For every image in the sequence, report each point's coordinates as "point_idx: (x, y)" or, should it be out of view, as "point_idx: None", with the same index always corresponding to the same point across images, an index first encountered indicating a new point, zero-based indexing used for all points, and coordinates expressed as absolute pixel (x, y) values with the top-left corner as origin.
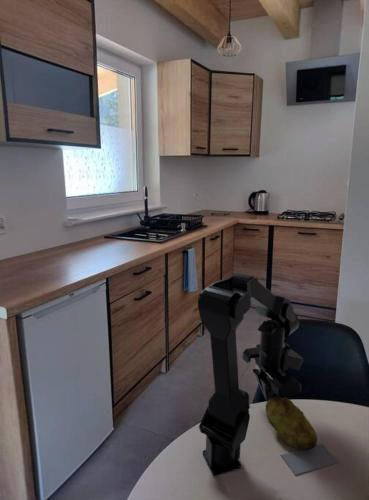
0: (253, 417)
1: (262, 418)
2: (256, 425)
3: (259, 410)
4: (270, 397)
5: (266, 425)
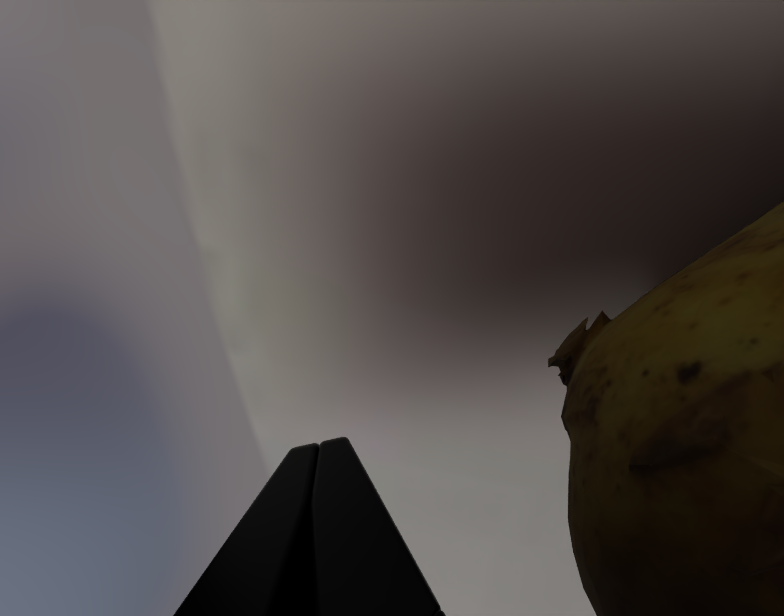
0: (424, 487)
1: (452, 415)
2: (538, 484)
3: (317, 414)
4: (368, 478)
5: (561, 404)
